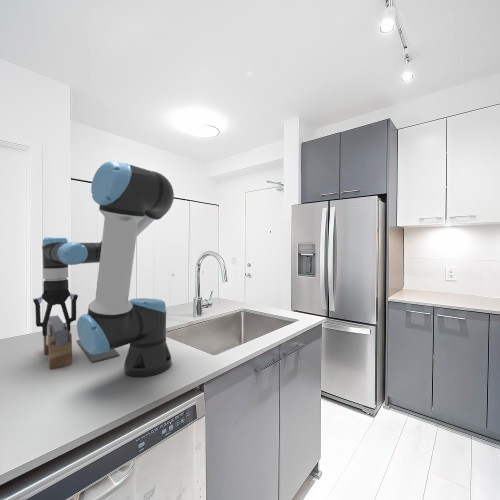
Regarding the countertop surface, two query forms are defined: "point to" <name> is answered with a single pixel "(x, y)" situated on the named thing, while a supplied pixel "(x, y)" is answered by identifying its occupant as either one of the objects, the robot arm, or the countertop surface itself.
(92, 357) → the mat
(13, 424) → the countertop surface
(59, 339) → the rail
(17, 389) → the countertop surface
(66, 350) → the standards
